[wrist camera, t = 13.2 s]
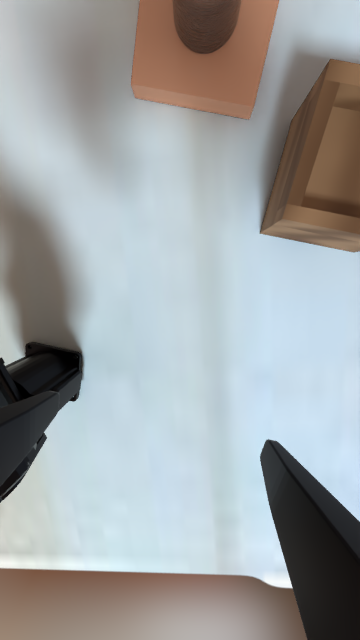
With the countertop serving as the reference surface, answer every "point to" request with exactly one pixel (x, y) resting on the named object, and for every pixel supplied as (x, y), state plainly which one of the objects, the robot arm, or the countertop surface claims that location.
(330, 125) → the socket block
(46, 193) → the countertop surface
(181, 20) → the silver and gold cylinder
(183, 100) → the terracotta tile
